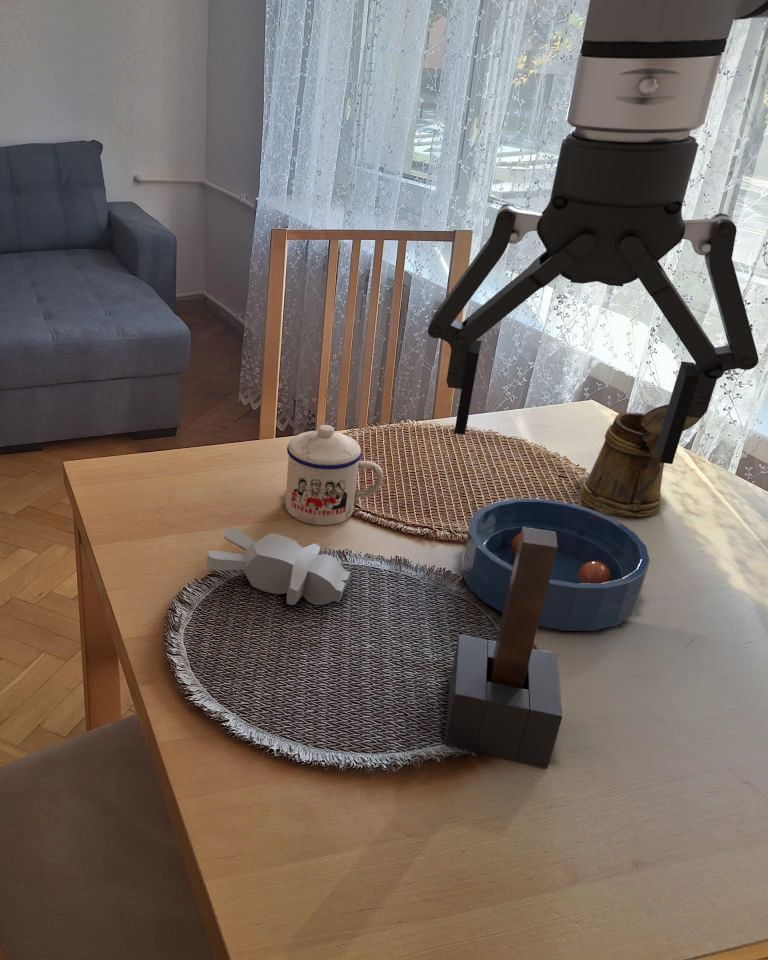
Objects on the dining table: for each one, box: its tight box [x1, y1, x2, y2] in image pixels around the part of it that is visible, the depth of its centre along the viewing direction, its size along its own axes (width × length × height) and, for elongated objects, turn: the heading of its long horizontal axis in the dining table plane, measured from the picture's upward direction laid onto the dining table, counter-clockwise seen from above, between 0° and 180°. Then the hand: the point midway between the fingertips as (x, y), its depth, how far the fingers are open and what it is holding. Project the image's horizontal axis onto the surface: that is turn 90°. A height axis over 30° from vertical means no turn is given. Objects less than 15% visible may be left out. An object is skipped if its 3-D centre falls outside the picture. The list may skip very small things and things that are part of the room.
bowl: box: [461, 497, 651, 632], centre depth 94 cm, size 18×18×6 cm
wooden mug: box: [578, 403, 702, 519], centre depth 104 cm, size 9×14×18 cm, turn 172°
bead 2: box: [578, 561, 611, 583], centre depth 93 cm, size 3×3×3 cm
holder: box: [444, 634, 564, 769], centre depth 76 cm, size 8×8×6 cm
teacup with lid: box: [284, 424, 384, 526], centre depth 108 cm, size 12×9×12 cm
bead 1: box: [511, 533, 521, 556], centre depth 98 cm, size 3×3×3 cm
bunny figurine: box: [205, 527, 351, 606], centre depth 96 cm, size 10×5×15 cm
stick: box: [488, 527, 558, 689], centre depth 72 cm, size 2×2×20 cm
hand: (558, 441), depth 63 cm, fingers open, 13 cm apart
